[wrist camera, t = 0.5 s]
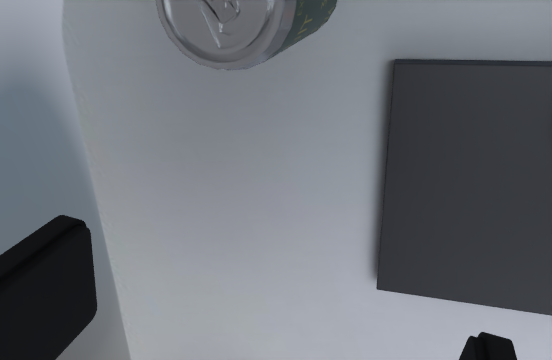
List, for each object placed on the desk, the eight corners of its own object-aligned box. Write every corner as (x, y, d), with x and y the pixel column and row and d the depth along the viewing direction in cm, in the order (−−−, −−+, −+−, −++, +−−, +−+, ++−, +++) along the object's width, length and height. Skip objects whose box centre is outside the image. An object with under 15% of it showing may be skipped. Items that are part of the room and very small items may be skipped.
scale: (395, 54, 26) (393, 63, 24) (696, 58, 22) (734, 69, 20) (377, 278, 33) (374, 304, 30) (606, 310, 29) (625, 343, 27)
